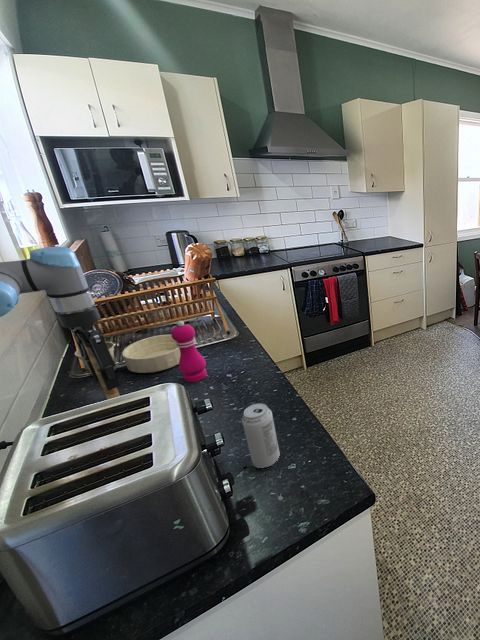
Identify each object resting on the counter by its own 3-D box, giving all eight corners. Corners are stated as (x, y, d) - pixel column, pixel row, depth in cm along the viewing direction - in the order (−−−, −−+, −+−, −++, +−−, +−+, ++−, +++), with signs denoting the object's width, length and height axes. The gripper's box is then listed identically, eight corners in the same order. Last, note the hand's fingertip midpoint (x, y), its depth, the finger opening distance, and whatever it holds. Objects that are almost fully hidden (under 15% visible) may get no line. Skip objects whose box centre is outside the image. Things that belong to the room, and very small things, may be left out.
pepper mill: (213, 371, 115) (199, 317, 107) (198, 384, 109) (182, 326, 100) (193, 370, 116) (177, 315, 108) (177, 382, 109) (158, 325, 101)
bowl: (144, 380, 109) (138, 364, 107) (118, 365, 117) (112, 349, 115) (200, 357, 123) (195, 342, 121) (173, 344, 131) (169, 330, 129)
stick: (111, 405, 98) (84, 343, 90) (106, 401, 100) (80, 340, 91) (123, 399, 101) (98, 339, 92) (118, 396, 102) (93, 336, 94)
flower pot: (113, 377, 110) (104, 354, 107) (78, 381, 108) (67, 357, 105) (128, 362, 119) (120, 340, 115) (95, 365, 116) (85, 343, 113)
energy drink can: (261, 450, 85) (250, 400, 79) (285, 452, 84) (275, 402, 78) (247, 469, 79) (234, 418, 73) (272, 472, 79) (261, 420, 73)
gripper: (112, 312, 87) (140, 387, 96) (78, 296, 96) (108, 367, 105) (73, 322, 81) (107, 402, 90) (41, 305, 90) (75, 379, 99)
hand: (107, 383), depth 98 cm, fingers open, 7 cm apart
